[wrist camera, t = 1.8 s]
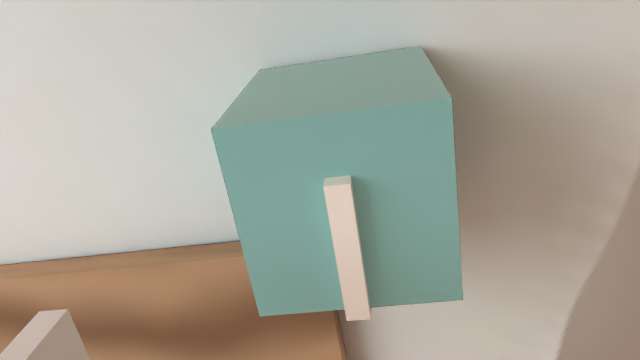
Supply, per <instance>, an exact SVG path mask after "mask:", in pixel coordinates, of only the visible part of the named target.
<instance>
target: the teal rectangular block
mask: <svg viewBox="0 0 640 360" xmlns="http://www.w3.org/2000/svg"><path fill="white" fill-rule="evenodd" d="M211 132H212V136H213V140H214V143H215V147H216V151H217V155H218V159H219V162H220V166H221V170H222V174H223V178H224V182H225V185H226V189H227V193H228V197H229V201H230V205H231V208H232V212H233V216H234V220H235V224H236V228H237V231H238V235H239V239H240V243H241V247H242V250H243V254H244V258H245V262H246V266H247V270H248V273H249V277H250V281H251V285H252V289H253V293H254V296H255V300H256V304H257V308H258V312H259V316H272V315H284V314H296V313H309V312H321V311H333V310H345V315H346V320H347V321H354V320H367V319H371V316H370V307H383V306H395V305H407V304H419V303H432V302H444V301H456V300H463V293H462V274H461V256H460V238H459V219H458V201H457V183H456V165H455V146H454V128H453V110H452V97H451V95H450V93H449V92H448V90H447V88H446V87H445V85H444V84H443V82H442V80H441V79H440V77H439V75H438V74H437V72H436V70H435V69H434V67H433V66H432V64H431V62H430V61H429V59H428V57H427V56H426V54H425V52H424V51H423V49H422V47H421V46H417V47H410V48H403V49H397V50H390V51H383V52H376V53H370V54H363V55H356V56H349V57H342V58H336V59H329V60H322V61H315V62H309V63H302V64H295V65H288V66H282V67H275V68H268V69H261V70H259V71H258V72H257V74H256V75H255V76H254V77H253V78H252V80H251V81H250V82H249V83H248V85H247V86H246V87H245V88H244V89H243V91H242V92H241V93H240V94H239V96H238V97H237V98H236V99H235V100H234V102H233V103H232V104H231V105H230V107H229V108H228V109H227V110H226V111H225V113H224V114H223V115H222V116H221V118H220V119H219V120H218V121H217V122H216V124H215V125H214V126H213V127H212V128H211Z"/></svg>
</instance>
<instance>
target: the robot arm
mask: <svg viewBox="0 0 640 360" xmlns="http://www.w3.org/2000/svg"><path fill="white" fill-rule="evenodd" d="M0 360H90V358H89V356H88V354H87V351H86V349H85V347H84V344H83V342H82V340H81V338H80V335H79V333H78V331H77V328H76V326H75V324H74V322H73V319H72V317H71V315H70V312H69V310H68V309H61V310H49V311H39V312H38V313H37V314H36V315H35V316H34V318H33V319H32V320H31V321H30V322H29V323H28V324H27V325H26V326H25V327H24V328H23V330H22V331H21V332H20V333H19V334H18V335H17V336H16V337H15V338H14V339H13V341H12V342H11V343H10V344H9V345H8V346H7V347H6V348H5V349H4V350H3V352H2V353H1V354H0Z"/></svg>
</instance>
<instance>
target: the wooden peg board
mask: <svg viewBox="0 0 640 360" xmlns="http://www.w3.org/2000/svg"><path fill="white" fill-rule="evenodd" d="M61 309H68V310H69V312H70V315H71V317H72V319H73V322H74V324H75V326H76V328H77V331H78V333H79V335H80V338H81V340H82V342H83V344H84V347H85V349H86V351H87V354H88V356H89V358H90V360H346V354H345V349H344V343H343V338H342V332H341V327H340V321H339V316H338V310H333V311H321V312H309V313H296V314H284V315H272V316H259V312H258V308H257V304H256V300H255V296H254V293H253V289H252V285H251V281H250V277H249V273H248V270H247V266H246V262H245V258H244V254H243V250H242V247H241V243H240V241H234V242H224V243H215V244H205V245H195V246H185V247H176V248H166V249H156V250H146V251H136V252H127V253H117V254H107V255H97V256H88V257H78V258H68V259H58V260H48V261H39V262H29V263H19V264H9V265H0V354H1V353H2V352H3V350H4V349H5V348H6V347H7V346H8V345H9V344H10V343H11V342H12V341H13V339H14V338H15V337H16V336H17V335H18V334H19V333H20V332H21V331H22V330H23V328H24V327H25V326H26V325H27V324H28V323H29V322H30V321H31V320H32V319H33V318H34V316H35V315H36V314H37V313H38V312H39V311H49V310H61Z"/></svg>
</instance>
